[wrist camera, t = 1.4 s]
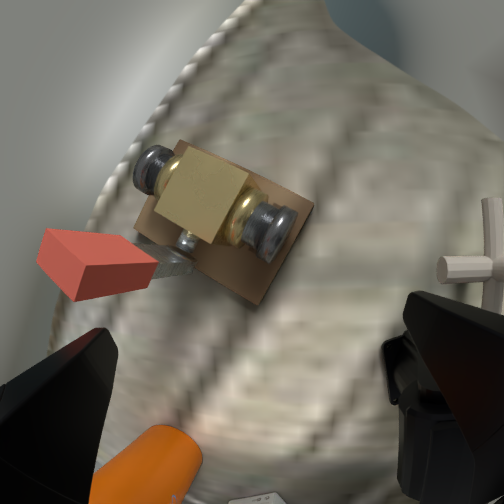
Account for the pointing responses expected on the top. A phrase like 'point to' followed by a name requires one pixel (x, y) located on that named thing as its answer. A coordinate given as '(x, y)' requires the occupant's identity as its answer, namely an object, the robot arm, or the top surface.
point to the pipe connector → (481, 259)
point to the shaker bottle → (149, 470)
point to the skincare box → (260, 499)
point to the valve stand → (218, 215)
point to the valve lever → (106, 263)
